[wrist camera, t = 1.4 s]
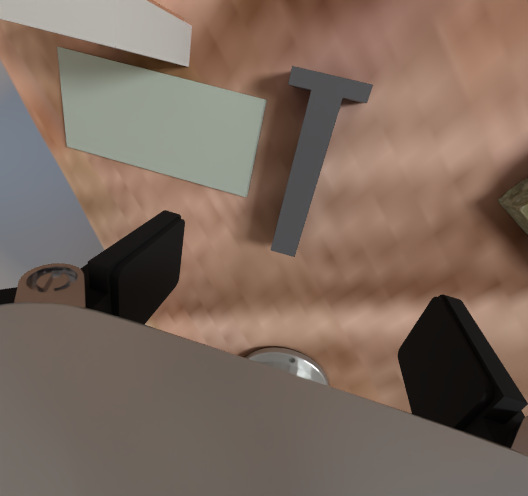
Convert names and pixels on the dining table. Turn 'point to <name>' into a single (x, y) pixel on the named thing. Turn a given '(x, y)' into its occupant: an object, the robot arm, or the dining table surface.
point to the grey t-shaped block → (311, 148)
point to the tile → (109, 24)
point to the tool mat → (160, 121)
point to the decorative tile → (517, 204)
